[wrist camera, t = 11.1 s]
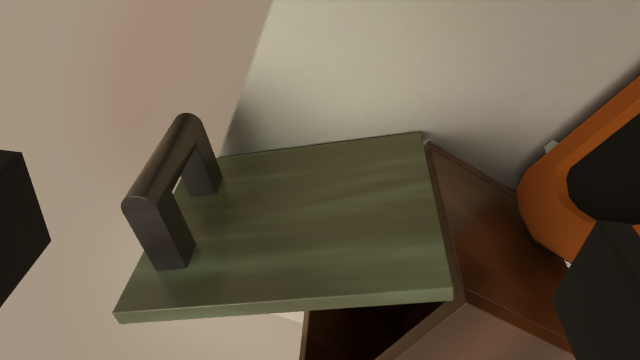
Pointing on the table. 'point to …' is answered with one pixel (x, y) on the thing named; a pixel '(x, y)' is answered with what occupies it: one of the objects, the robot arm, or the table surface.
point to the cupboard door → (282, 229)
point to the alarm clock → (586, 178)
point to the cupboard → (460, 287)
